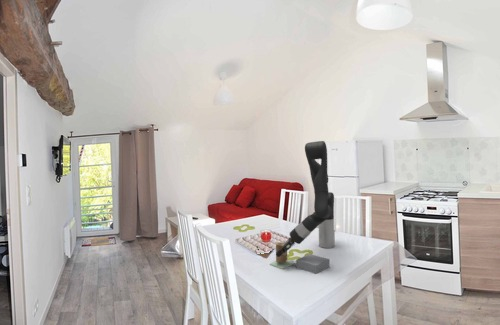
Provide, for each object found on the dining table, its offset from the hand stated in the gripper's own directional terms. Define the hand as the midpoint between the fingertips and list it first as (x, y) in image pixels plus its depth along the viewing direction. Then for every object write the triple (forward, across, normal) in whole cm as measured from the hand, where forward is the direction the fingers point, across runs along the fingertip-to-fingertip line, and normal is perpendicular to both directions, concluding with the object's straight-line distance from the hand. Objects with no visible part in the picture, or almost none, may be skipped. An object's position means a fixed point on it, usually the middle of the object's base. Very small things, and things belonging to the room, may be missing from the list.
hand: (278, 253), depth 170 cm
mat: (+3, 0, +5) cm, 6 cm away
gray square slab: (-9, 0, +17) cm, 19 cm away
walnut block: (+1, 0, +4) cm, 4 cm away
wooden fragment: (+13, -20, -4) cm, 24 cm away
